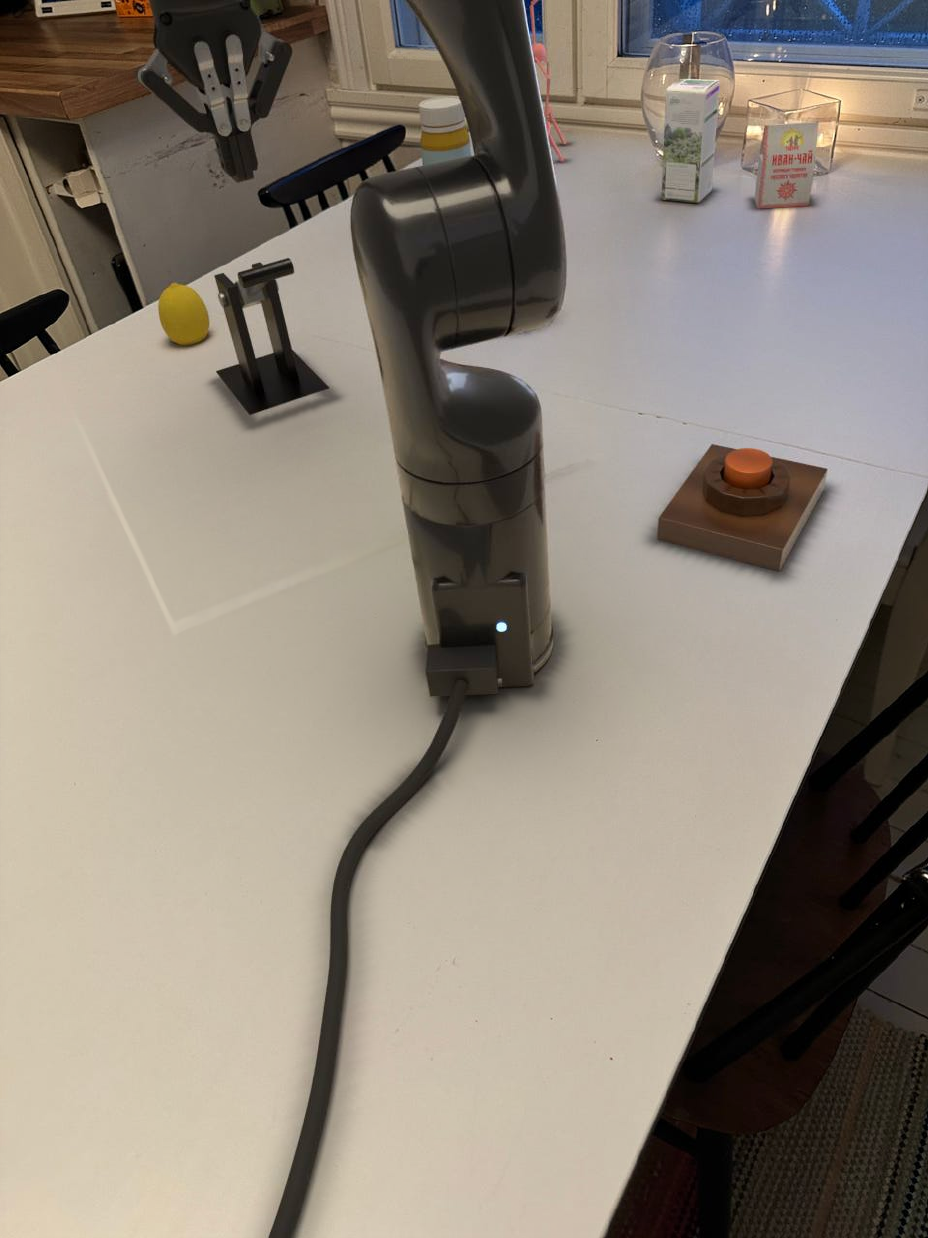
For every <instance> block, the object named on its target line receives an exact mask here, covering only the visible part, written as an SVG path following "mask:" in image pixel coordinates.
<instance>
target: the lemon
mask: <svg viewBox="0 0 928 1238" xmlns="http://www.w3.org/2000/svg"><path fill="white" fill-rule="evenodd" d="M157 303H158V304H157V305H158V308H157V309H158V317H159V321H160V325H161V328H162V329H163V331H164V332H165V334H166V335H167V337H168V338H169V339H170V340H171V341H172V342H174V343H176V344H178V345H180V346H191V345H196V344H198V343H200V342H202V341H204V340H205V338H206V337H207V335H208V333H209V331H210V330H209V329H210V316H209V312H208V309H207V307H206V304H205V302H204V300H203V298H202V297H201V296H200V294H199V293H198V292H197V291H196V290H195V289H193V288H192V287H191V286H189V285H185V284H179V283H177V282H172V283H171V284H170V285H169V286H168V287H167V288H165V289H164V290H163V291H162V293H161V295H160V296H159V299H158V302H157Z"/></svg>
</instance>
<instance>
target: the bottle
mask: <svg viewBox="0 0 928 1238" xmlns="http://www.w3.org/2000/svg"><path fill="white" fill-rule="evenodd" d="M418 111H419V112H418V113H419V121H420V123H421V124H420V127H421V135H420V141H419V144H420V145H419V146H420V153H421V162H422V166H423V165H428V164H433V163H438V162H443V161H448V160H453V159H458V158H463V157H470V156H472V150H471V140H470V133H469V130H468V129H467V127H466V117H465V114H464V110H463V107H462V104H461V102H460V99H459V96H456V95H455V96H454V95H450V96H449V95H445V96H437V97H432V98H427V99H425V100H423V101H421V102H419V104H418Z"/></svg>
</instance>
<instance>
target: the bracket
mask: <svg viewBox="0 0 928 1238" xmlns="http://www.w3.org/2000/svg"><path fill="white" fill-rule="evenodd" d="M262 265H264V263H262V262H261V261H260V262H257V263H253V264H251V268H255V267H258V266H262ZM213 277H214V281H215V284H216V287H217V291H218V293H217V298H218V301H219V304H220V306H221V307H222V309H223V312H224V316H225V319H226V323H227V326H228V329H229V333H230V337H231V340H232V344H233V347H234V351H235V355H236V358H237V361H238V363H237V364H234V365H230V366H227V367H225V368H224V367H223V368H221V369H218V370H216V371H215V373H216V374H217V375H218V376H219V378H220V379H221V380H222V382H223V383H224V384H225V386H226V387H227V389H228V390H229V391H230V392H231V393H232V394H233V396H234V397H235V399H236V400H237V401H238V402H239V403H240V405H241V406H242V408H243V409H244V410H245V412H247V414H248V415H249V416H252V415H254V414H257V413H260V412H263V411H267V410H270V409H272V408H275V407H278V406H281V405H284V404H287V403H290V402H293V401H295V400H299V399H302V398H305V397H309V396H311V395H314V394H316V393H320V392H322V391H326V390H328V389H330V387H329V386H328V384H327V383H326V382H324V381H323V379H322V378H321V377H320V376H319V375H318V374H317V373H316V372H315V371H314V370H313V369H312V368H311V367H310V365H308V364H307V363H306V362H305V361H304V360H303V359H302V358H301V357H300V355H298V354H297V352H295V351H294V349H293V347H292V342H291V340H290V336H289V335H290V334H289V331H288V325H287V322H286V317H285V314H284V309H283V305H282V301H281V297H280V293H279V290H280V288H279V284H278V281H277V279H274V280H271V281H269V282H268V283H267V284H266V285H265V286H264V287H263V288H262V291H263V294H264V297H265V299H264V300H263V301H262V302H261V303H260V305H261V308H262V313H263V316H264V321H265V325H266V328H267V332H268V337H269V340H270V344H271V345H270V346H271V348H272V352H271V353H268V354H265V355H262V356H259V357H256V353H255V350H254V347H253V343H252V338H251V335H250V331H249V327H248V324H247V320H246V316H245V312H244V309H243V308H242V305H241V301H240V297H239V293H238V290H237V286H236V285H235V284H234V283H235V282H233V280H231V279H230V277H228V275H226V274H225V272H221V273H218V274H214V276H213Z"/></svg>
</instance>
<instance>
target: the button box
mask: <svg viewBox="0 0 928 1238" xmlns="http://www.w3.org/2000/svg"><path fill="white" fill-rule="evenodd" d="M734 450H737V448H733V447H729V446H723V445H719V444H715V443H714V444H713V443H711V444H710V446H709V448H708V449H707V450H706V451H705V453H704V454H703V455H702V457H701V458H700V460H699V461H698V462H697V464H696V465H695V467H694V468H693V470H692V471H691V472H690V474H689V475H688V477H686V479H685V481H684V482H683V483H682V485H681V486H680V488H678V490H677V491H676V493H675V494H674V496H673V497H672V498H671V500H670V501H669V503H668V504H667V505H666V507H665V508H664V510H663V511H662V513H660V515H659V517H658V520H657V538H656V539H657V540H659V541H662V542H666V543H670V544H674V545H677V546H681V547H685V548H689V549H693V550H697V551H700V552H703V553H708V554H710V555H715V556H719V557H723V558H726V559H730V560H733V561H737V562H741V563H744V564H749V565H752V566H756V567H760V568H763V569H767V570H771V571H773V572H780V571H781V569H782V567H783V565H784V564H785V562H786V560H787V558H788V556H789V554H790V553H791V551H792V549H793V547H794V545H795V543H796V541H797V539H798V538H799V536H800V534H801V532H802V530H804V529H803V528H805V525H806V523H807V521H808V520H809V518H810V517H811V514H812V512H813V510H814V508H815V507H816V506H817V503H818V501H819V499H820V497H821V495H822V494H823V492H824V490H825V486H826V480H827V476H828V475H827V474H828V468H827V467H826V468H825V467H821V466H816V465H813V464H812V465H811V464H808V463H803V462H799V461H793V460H789V459H784V458H779V457H775V456H770V455H769V456H770V457H771V458H772V468H771V475H770V481H769V483H768V484H767V485H766V486H764V487H762V488H760V489H748V490H744V489H740V488H736V487H732V486H730V485H729V484H727V483H726V482H725V480H724V468H725V459H726V456H727V455H728V454H729V453H730V452H732V451H734Z"/></svg>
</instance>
